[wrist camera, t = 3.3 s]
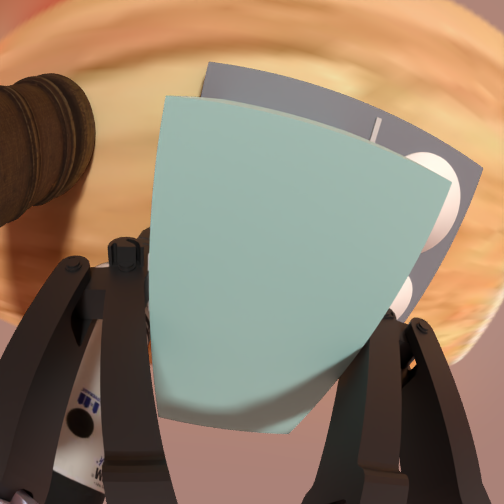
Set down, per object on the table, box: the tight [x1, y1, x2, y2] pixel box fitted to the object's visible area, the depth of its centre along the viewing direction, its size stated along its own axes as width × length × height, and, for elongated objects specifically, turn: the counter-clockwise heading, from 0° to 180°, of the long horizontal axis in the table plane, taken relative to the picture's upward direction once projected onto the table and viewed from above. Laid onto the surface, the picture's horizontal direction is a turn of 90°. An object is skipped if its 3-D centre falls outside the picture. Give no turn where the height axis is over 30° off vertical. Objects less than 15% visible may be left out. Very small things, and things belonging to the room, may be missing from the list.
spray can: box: [44, 262, 151, 504], centre depth 11 cm, size 7×7×20 cm
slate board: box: [201, 62, 483, 323], centre depth 14 cm, size 18×17×7 cm
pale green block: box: [149, 96, 452, 434], centre depth 12 cm, size 7×13×9 cm, turn 167°
